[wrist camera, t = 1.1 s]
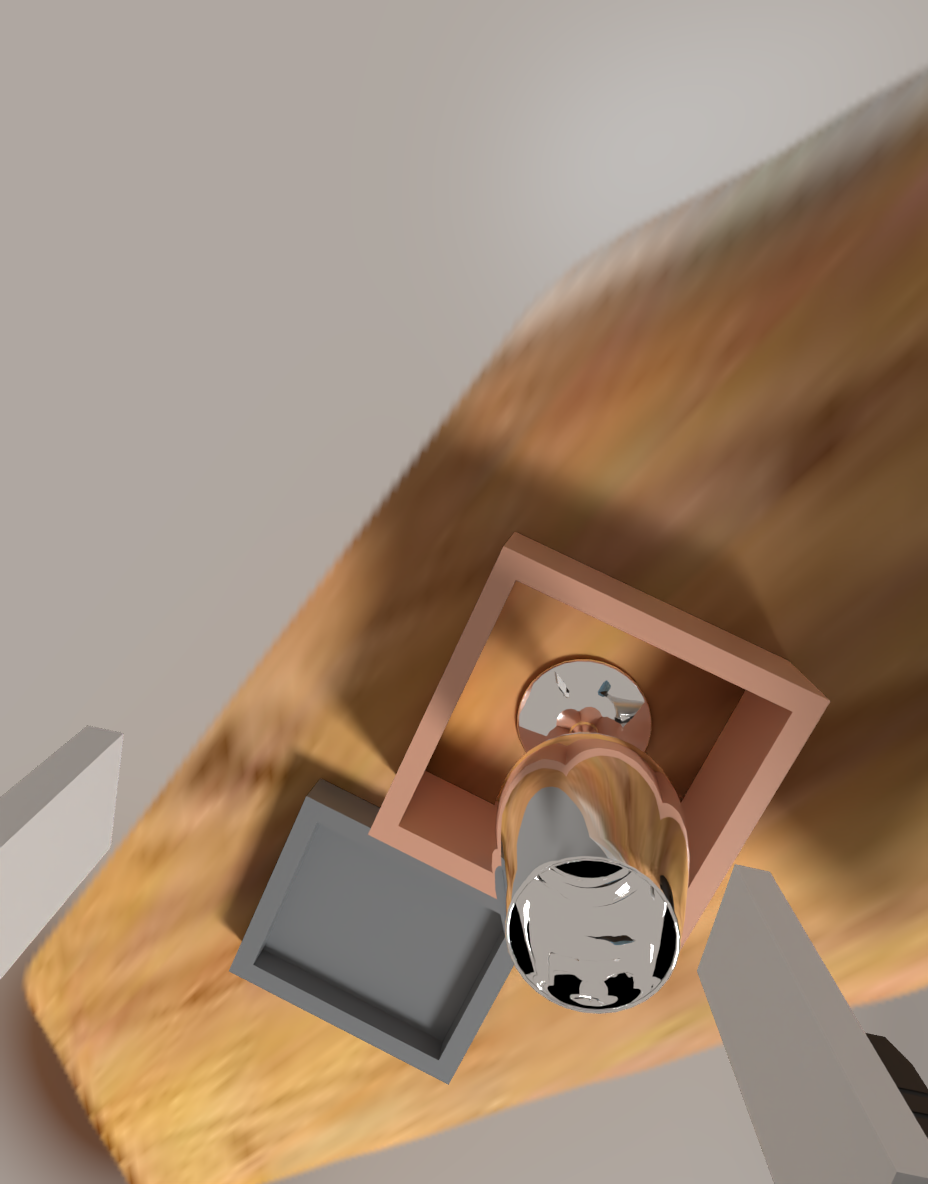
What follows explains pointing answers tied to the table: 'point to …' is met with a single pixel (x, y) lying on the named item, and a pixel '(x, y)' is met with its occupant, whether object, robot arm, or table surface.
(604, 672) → the wineglass
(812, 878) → the table surface
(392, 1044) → the tray
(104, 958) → the table surface
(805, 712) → the holder
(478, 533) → the table surface
